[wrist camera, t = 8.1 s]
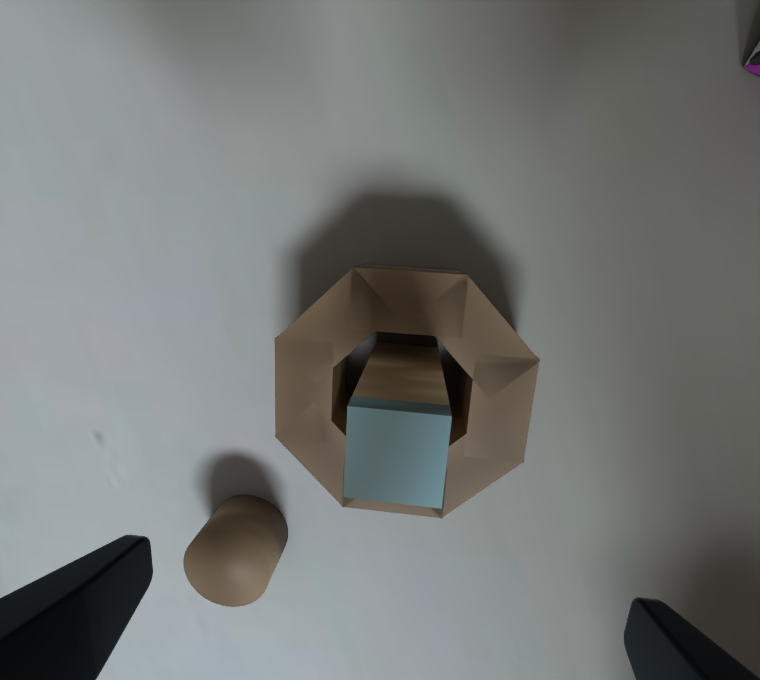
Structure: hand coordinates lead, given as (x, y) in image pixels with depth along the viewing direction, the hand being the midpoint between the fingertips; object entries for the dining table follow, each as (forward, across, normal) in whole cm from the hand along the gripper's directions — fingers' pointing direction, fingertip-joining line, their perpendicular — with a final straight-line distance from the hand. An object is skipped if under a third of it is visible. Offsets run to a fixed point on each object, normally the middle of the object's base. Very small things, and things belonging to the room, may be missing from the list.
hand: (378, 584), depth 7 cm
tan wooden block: (+12, 0, 0) cm, 12 cm away
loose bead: (+12, +8, +10) cm, 18 cm away
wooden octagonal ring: (+12, 0, 0) cm, 12 cm away
